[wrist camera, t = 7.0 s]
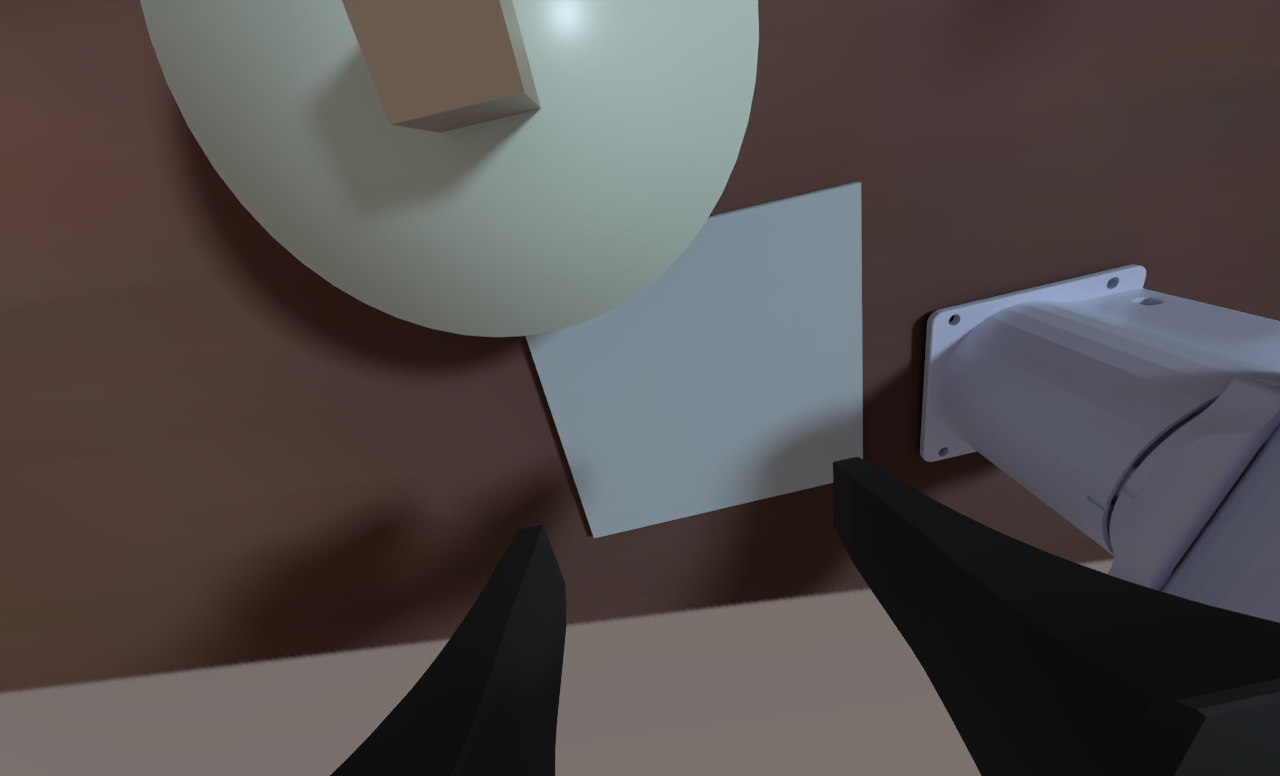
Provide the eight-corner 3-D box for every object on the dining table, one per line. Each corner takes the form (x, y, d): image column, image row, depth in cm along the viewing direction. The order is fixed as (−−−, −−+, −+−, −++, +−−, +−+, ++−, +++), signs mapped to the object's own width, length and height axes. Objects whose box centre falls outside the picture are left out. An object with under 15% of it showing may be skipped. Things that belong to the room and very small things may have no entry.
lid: (706, -453, 9) (788, -877, 5) (772, 271, 15) (831, 309, 12) (-6, -275, 9) (-413, -571, 6) (343, 373, 15) (264, 443, 12)
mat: (855, 181, 19) (860, 182, 18) (859, 471, 25) (863, 475, 25) (503, 265, 19) (502, 267, 18) (593, 532, 25) (593, 538, 25)
